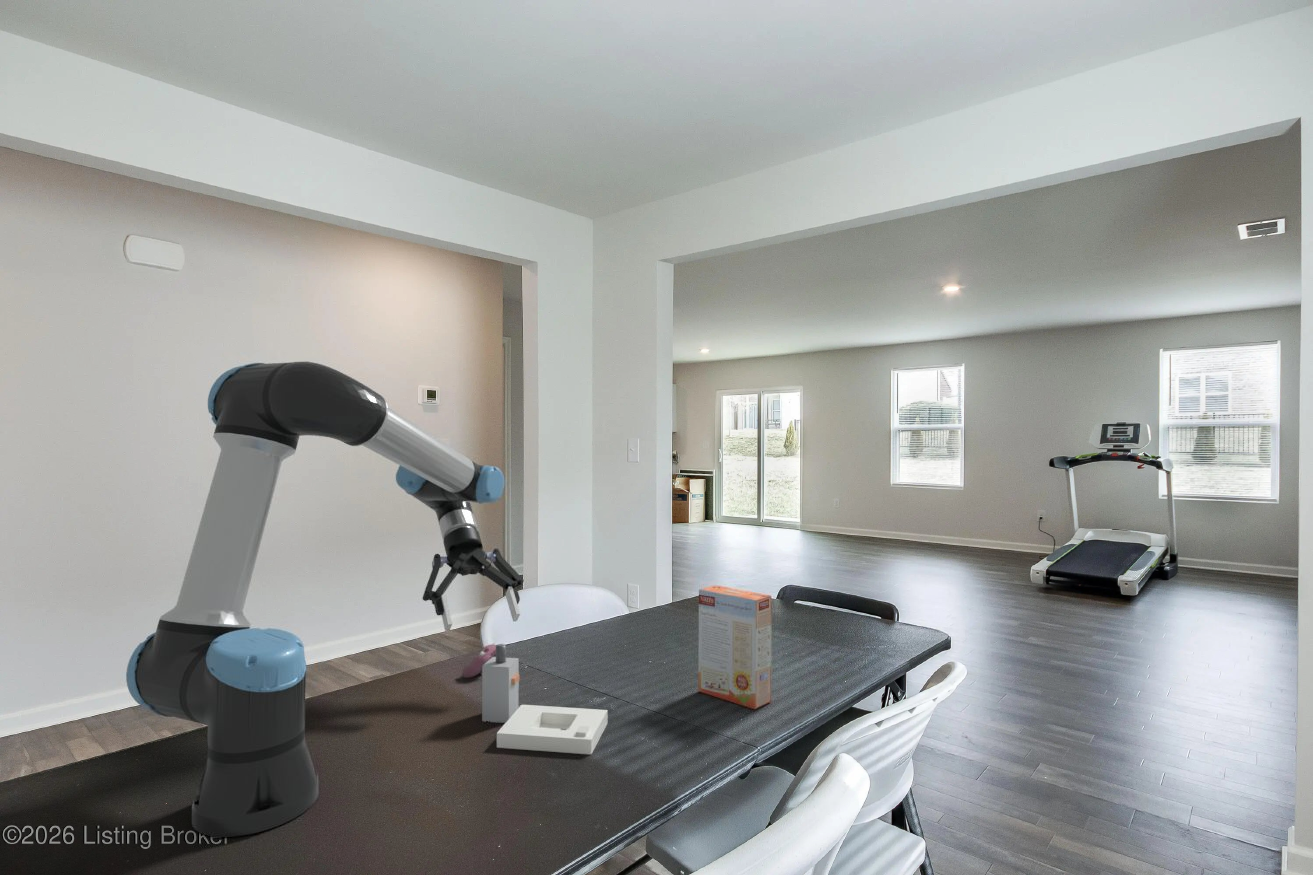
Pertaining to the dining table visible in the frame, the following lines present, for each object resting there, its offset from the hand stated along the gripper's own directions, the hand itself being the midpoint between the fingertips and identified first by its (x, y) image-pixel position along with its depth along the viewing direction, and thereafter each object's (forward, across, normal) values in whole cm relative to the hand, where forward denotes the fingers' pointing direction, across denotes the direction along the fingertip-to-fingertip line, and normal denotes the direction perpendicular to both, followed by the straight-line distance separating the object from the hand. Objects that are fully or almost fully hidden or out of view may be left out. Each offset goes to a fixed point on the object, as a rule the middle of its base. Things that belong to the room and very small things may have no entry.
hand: (483, 622), depth 134 cm
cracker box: (+29, -42, +8) cm, 51 cm away
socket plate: (+26, -5, +6) cm, 27 cm away
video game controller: (0, -5, -21) cm, 21 cm away
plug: (+18, 0, -3) cm, 18 cm away
